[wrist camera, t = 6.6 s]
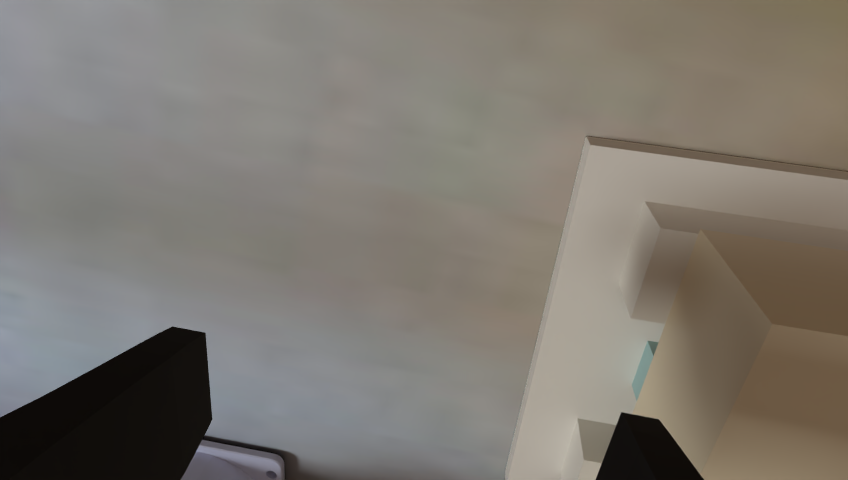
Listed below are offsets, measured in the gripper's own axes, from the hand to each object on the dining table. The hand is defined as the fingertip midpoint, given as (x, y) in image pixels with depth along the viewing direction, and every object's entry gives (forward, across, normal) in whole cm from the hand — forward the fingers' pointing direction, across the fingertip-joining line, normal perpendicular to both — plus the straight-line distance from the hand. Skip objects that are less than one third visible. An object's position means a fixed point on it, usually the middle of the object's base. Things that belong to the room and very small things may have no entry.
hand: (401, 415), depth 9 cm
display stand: (+10, -9, +5) cm, 14 cm away
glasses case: (+7, -9, +4) cm, 12 cm away
